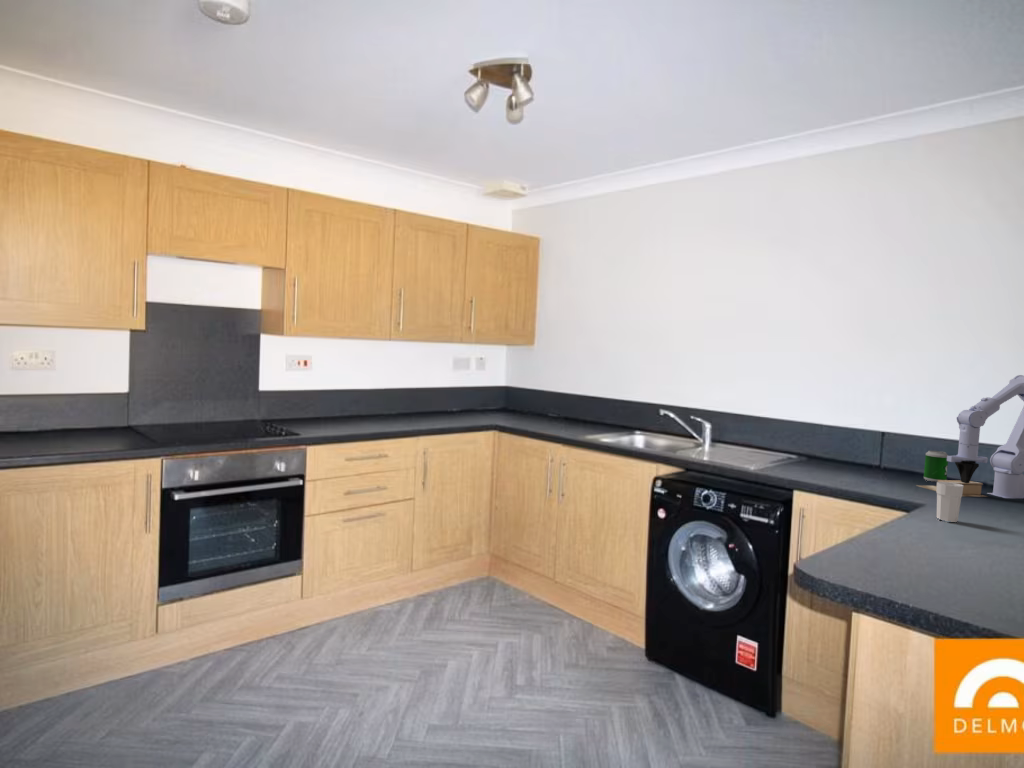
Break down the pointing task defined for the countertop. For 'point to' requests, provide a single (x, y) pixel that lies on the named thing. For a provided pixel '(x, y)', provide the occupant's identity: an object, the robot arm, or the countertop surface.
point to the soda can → (935, 466)
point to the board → (936, 490)
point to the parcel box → (971, 489)
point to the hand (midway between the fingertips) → (965, 482)
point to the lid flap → (960, 482)
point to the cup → (948, 500)
